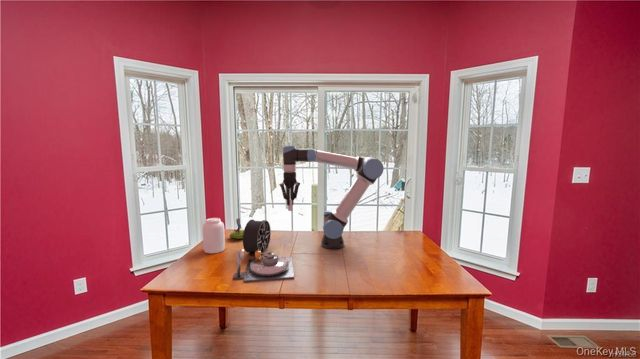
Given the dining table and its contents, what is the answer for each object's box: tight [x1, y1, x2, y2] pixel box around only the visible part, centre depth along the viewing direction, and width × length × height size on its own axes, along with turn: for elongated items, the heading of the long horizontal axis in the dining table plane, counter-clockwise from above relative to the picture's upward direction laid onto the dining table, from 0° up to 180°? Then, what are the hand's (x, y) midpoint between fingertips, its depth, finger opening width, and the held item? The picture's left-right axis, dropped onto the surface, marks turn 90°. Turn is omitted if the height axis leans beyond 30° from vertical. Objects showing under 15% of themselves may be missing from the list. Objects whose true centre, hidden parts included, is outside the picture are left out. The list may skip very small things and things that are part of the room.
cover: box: [262, 251, 279, 266], centre depth 141 cm, size 8×8×5 cm
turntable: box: [250, 250, 289, 276], centre depth 141 cm, size 20×20×7 cm
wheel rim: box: [242, 219, 272, 255], centre depth 164 cm, size 20×9×20 cm, turn 168°
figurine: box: [228, 217, 244, 240], centre depth 188 cm, size 14×13×15 cm
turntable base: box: [243, 256, 295, 283], centre depth 142 cm, size 24×24×1 cm
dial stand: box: [232, 249, 246, 280], centre depth 133 cm, size 5×5×14 cm
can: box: [202, 217, 226, 254], centre depth 166 cm, size 12×12×20 cm
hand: (290, 210), depth 162 cm, fingers closed
